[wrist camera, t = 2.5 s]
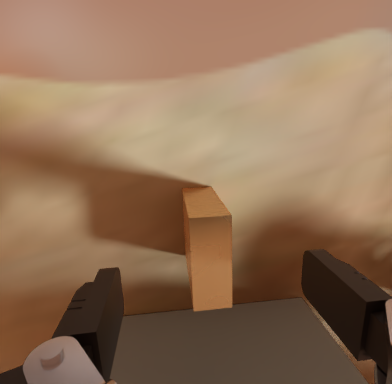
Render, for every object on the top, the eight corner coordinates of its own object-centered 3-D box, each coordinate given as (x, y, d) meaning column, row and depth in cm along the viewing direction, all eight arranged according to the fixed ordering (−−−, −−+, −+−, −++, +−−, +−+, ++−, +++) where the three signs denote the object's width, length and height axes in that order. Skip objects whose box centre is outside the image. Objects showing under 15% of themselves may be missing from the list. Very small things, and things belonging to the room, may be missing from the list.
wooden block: (211, 186, 18) (231, 215, 12) (212, 253, 19) (232, 307, 14) (181, 188, 18) (189, 218, 12) (185, 255, 19) (193, 311, 13)
